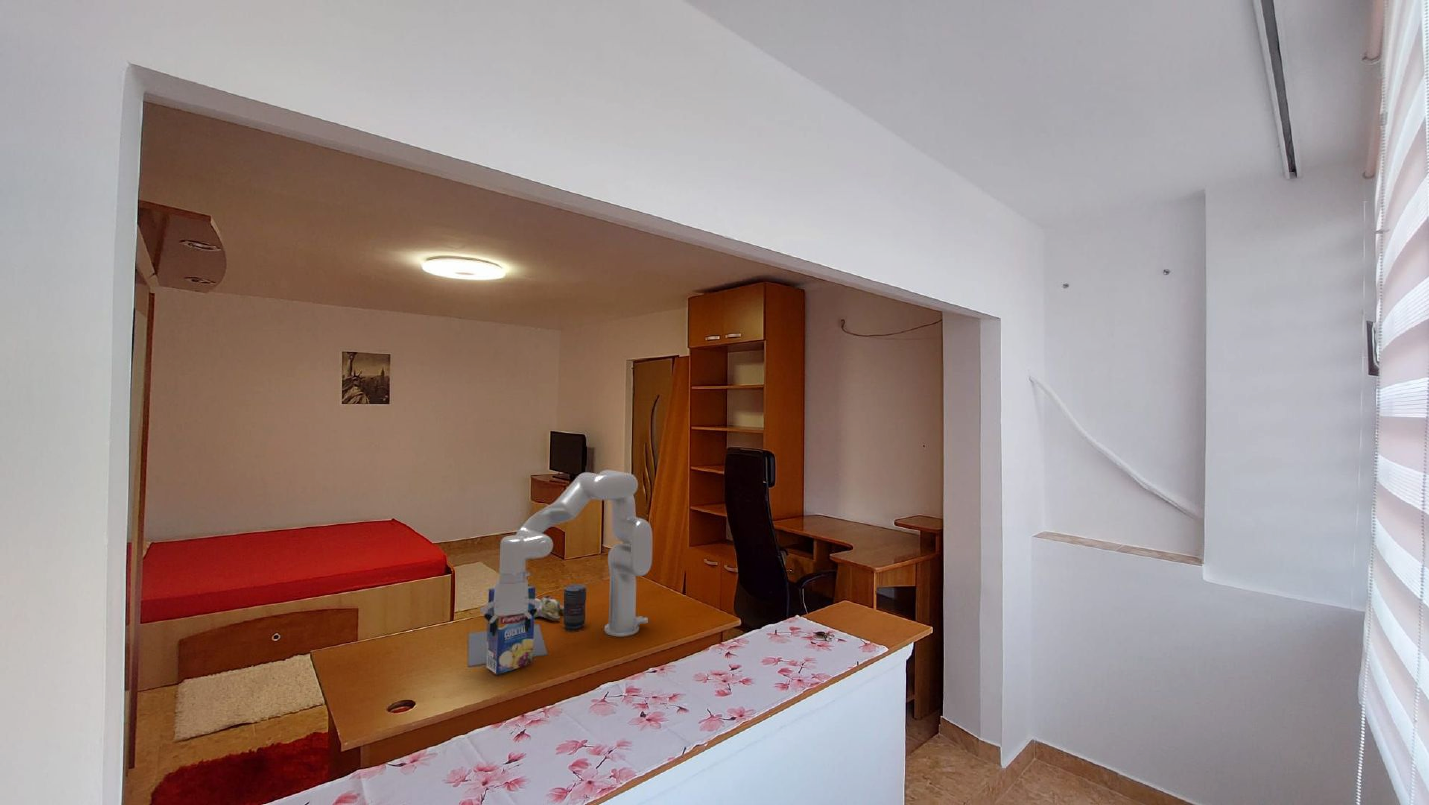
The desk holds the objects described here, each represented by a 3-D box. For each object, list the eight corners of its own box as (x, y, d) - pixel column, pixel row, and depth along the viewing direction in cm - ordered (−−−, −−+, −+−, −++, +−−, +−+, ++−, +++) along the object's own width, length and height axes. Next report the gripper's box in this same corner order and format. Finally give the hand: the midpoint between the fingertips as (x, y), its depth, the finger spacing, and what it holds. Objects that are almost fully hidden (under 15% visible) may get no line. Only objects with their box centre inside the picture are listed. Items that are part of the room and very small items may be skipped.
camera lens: (589, 625, 212) (590, 585, 212) (577, 633, 204) (578, 592, 204) (571, 622, 214) (572, 582, 214) (558, 630, 207) (559, 589, 207)
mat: (538, 625, 211) (538, 624, 211) (547, 655, 187) (547, 654, 187) (468, 634, 201) (468, 633, 201) (468, 667, 177) (468, 665, 177)
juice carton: (496, 674, 171) (499, 595, 172) (485, 666, 176) (488, 589, 177) (532, 663, 180) (535, 587, 180) (521, 655, 185) (524, 582, 186)
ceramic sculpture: (537, 588, 224) (573, 594, 222) (535, 610, 225) (571, 615, 222) (524, 598, 214) (561, 604, 212) (522, 621, 214) (560, 626, 212)
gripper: (539, 571, 181) (537, 624, 181) (481, 575, 174) (479, 631, 174) (542, 578, 174) (540, 633, 174) (482, 583, 167) (480, 641, 167)
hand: (510, 632), depth 174 cm, fingers open, 9 cm apart
